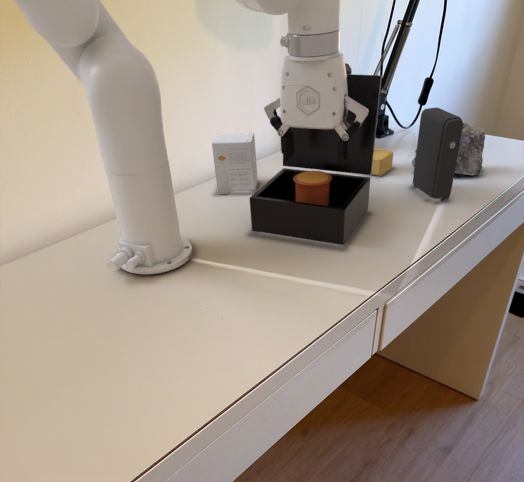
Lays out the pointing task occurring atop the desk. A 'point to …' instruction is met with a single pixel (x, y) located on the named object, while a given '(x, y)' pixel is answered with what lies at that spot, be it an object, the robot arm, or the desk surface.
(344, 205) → the black open box
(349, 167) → the black box lid
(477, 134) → the mineral rock
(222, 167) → the small box
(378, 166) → the rubber stamp
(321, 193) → the ramekin
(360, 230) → the desk surface
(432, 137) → the card reader
